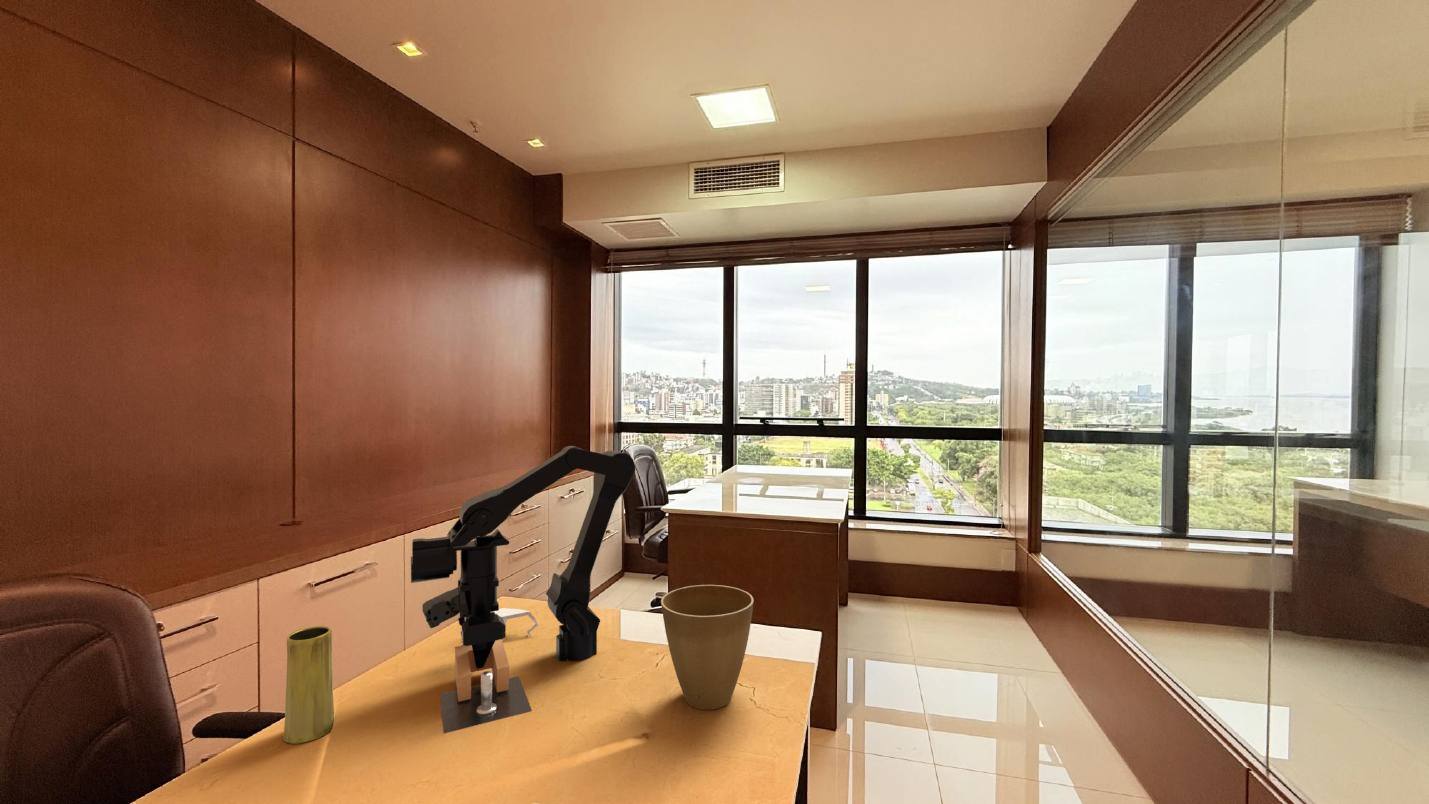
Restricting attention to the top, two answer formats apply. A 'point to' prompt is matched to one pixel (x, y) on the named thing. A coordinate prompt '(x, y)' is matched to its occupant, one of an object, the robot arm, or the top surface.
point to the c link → (467, 666)
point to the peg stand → (483, 704)
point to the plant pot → (707, 640)
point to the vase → (309, 685)
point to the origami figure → (515, 613)
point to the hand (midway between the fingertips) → (479, 664)
